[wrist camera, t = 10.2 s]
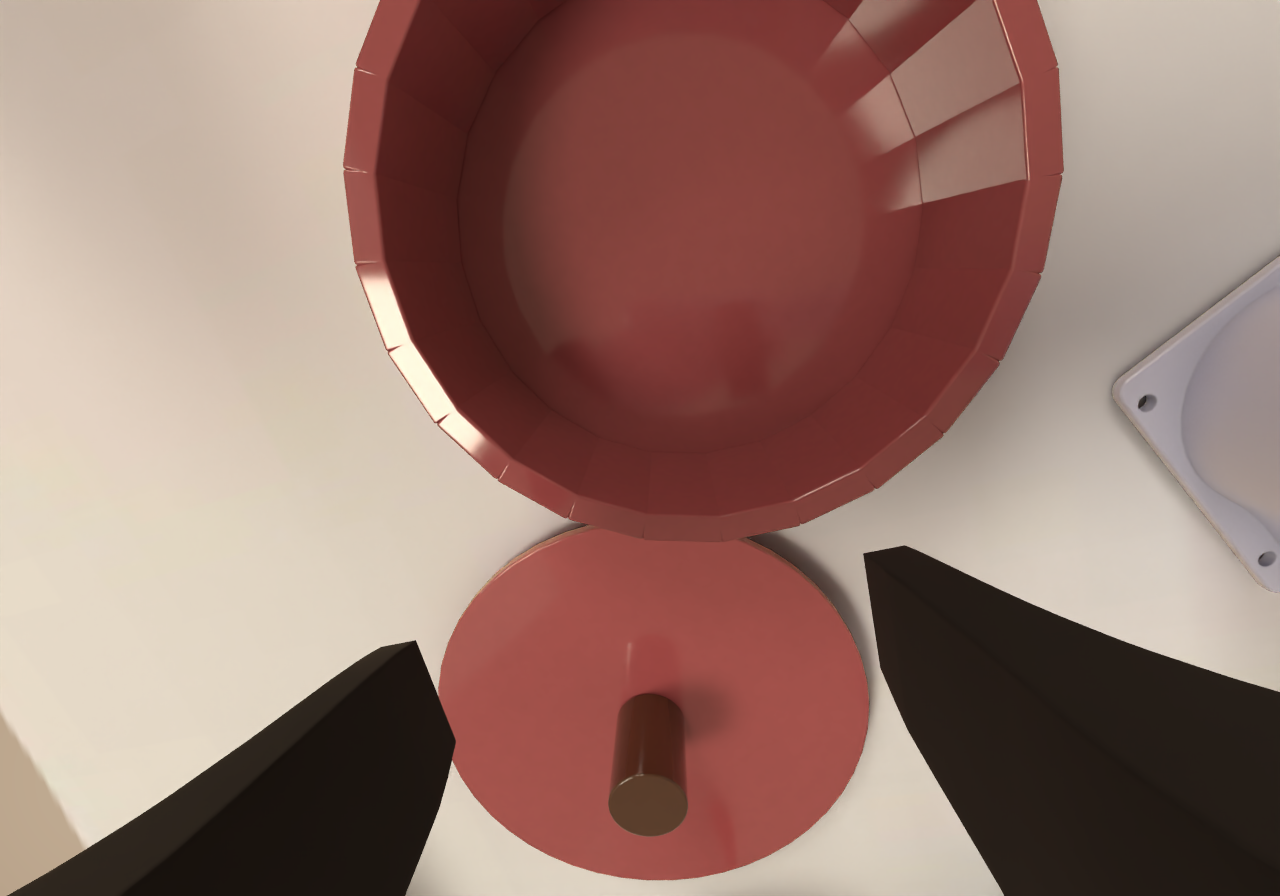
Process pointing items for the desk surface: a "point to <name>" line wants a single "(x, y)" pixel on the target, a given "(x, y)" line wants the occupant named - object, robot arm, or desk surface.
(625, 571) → the lid
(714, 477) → the pot
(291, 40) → the desk surface
